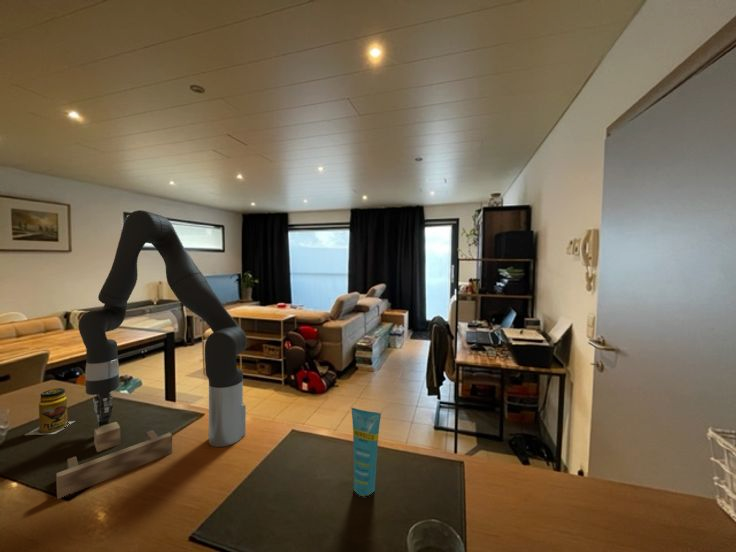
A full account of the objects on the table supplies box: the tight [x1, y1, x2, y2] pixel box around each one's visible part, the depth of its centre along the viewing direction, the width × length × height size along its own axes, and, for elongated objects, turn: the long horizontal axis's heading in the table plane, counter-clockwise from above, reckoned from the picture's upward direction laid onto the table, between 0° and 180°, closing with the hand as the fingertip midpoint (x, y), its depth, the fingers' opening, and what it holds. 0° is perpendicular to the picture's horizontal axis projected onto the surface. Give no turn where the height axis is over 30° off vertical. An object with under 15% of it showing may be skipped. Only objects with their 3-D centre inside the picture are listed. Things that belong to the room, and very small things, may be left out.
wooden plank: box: [56, 429, 173, 500], centre depth 77 cm, size 22×9×5 cm, turn 140°
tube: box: [351, 407, 382, 496], centre depth 69 cm, size 7×5×19 cm, turn 72°
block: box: [93, 421, 122, 453], centre depth 85 cm, size 5×5×5 cm
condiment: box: [24, 387, 76, 436], centre depth 93 cm, size 7×8×12 cm
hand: (103, 431), depth 90 cm, fingers closed
